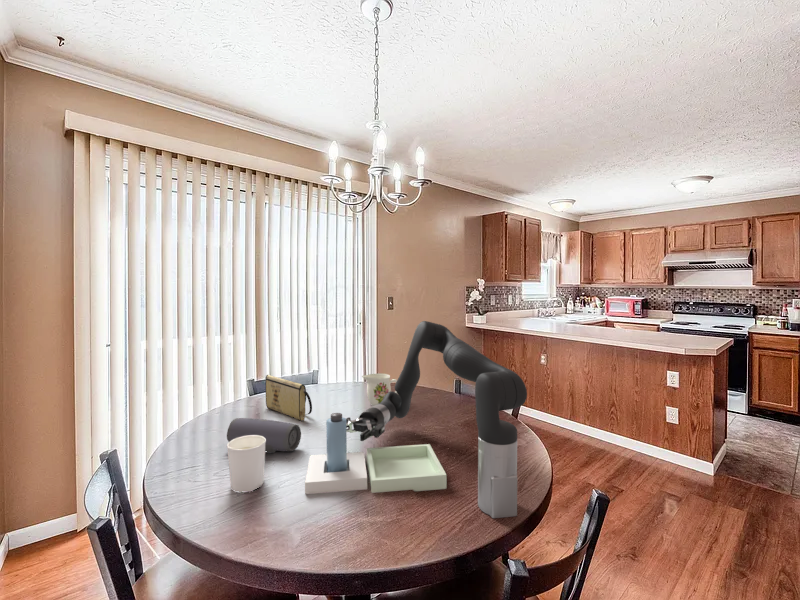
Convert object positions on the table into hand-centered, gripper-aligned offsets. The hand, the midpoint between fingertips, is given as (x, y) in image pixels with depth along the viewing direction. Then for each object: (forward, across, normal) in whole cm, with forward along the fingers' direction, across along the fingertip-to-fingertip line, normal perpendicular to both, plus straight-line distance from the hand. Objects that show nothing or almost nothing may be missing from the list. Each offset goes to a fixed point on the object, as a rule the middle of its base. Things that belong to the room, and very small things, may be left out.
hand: (348, 435), depth 113 cm
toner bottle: (+6, 0, +9) cm, 11 cm away
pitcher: (-58, -20, +10) cm, 62 cm away
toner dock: (+6, 0, +10) cm, 12 cm away
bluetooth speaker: (0, -33, +10) cm, 34 cm away
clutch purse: (-32, -50, +10) cm, 61 cm away
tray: (-4, +16, +10) cm, 19 cm away
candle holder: (+20, -20, +10) cm, 30 cm away
